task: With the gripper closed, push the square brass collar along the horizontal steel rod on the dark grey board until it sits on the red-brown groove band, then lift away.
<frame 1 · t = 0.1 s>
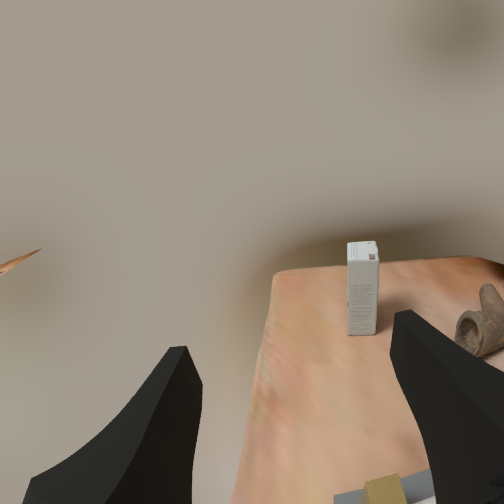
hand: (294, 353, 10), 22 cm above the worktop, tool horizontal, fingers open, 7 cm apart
skincare box: (362, 325, 44), on the worktop
pipe: (479, 330, 36), on the worktop
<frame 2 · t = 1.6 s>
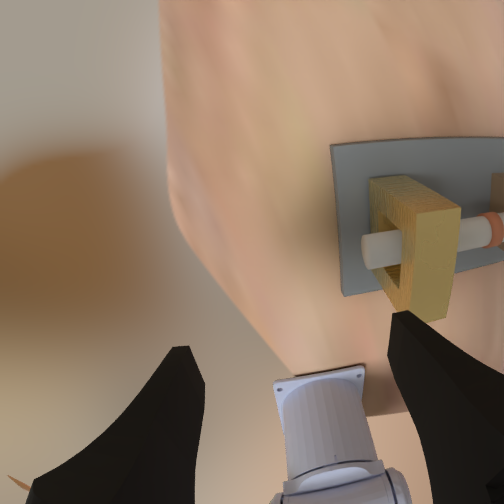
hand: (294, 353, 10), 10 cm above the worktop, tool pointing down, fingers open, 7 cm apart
collar: (408, 244, 15), point 4 cm above the worktop, slide at 0.0 cm
rail: (437, 209, 19), on the worktop
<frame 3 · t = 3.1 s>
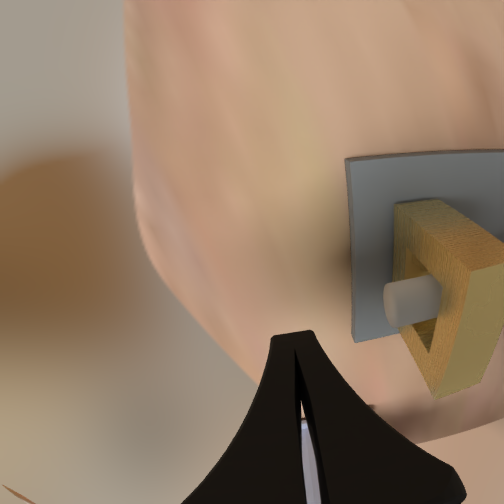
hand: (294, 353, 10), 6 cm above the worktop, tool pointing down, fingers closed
collar: (443, 293, 11), point 4 cm above the worktop, slide at 0.0 cm
rail: (469, 237, 15), on the worktop
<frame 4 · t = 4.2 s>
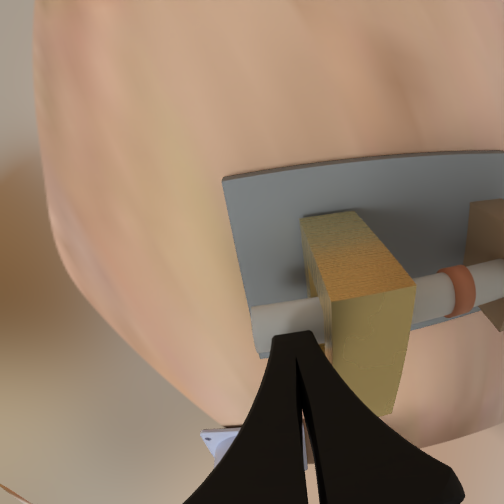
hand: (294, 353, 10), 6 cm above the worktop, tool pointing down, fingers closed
collar: (347, 315, 12), point 4 cm above the worktop, slide at 1.1 cm, touching gripper
rail: (389, 252, 15), on the worktop
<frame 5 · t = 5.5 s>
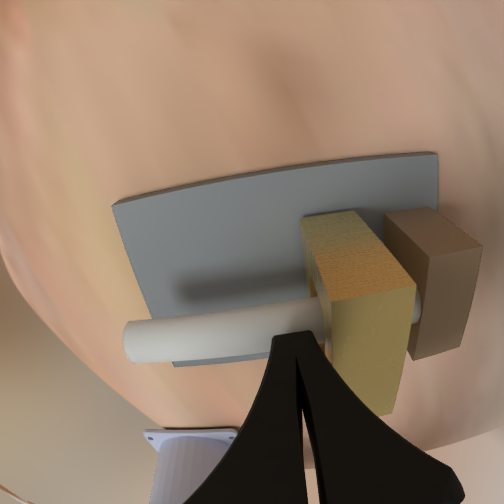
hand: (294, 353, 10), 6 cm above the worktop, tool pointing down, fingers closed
collar: (347, 314, 12), point 4 cm above the worktop, slide at 6.2 cm, touching gripper
rail: (291, 269, 15), on the worktop
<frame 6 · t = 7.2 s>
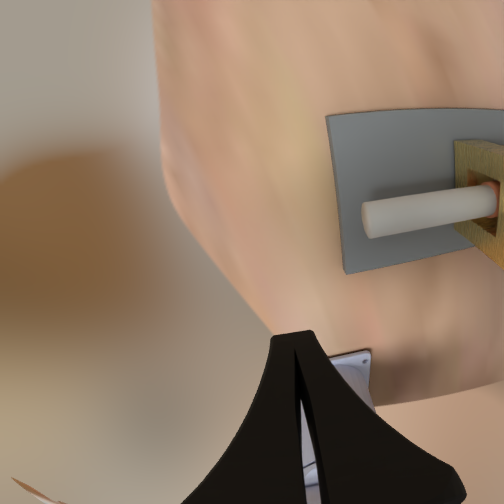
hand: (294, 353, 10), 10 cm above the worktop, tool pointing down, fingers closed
collar: (495, 198, 14), point 4 cm above the worktop, slide at 6.2 cm
rail: (439, 182, 18), on the worktop
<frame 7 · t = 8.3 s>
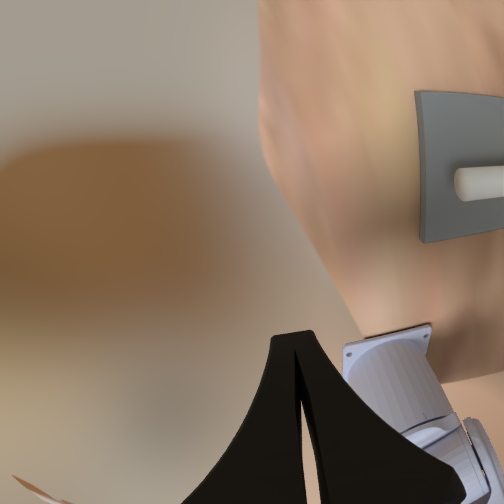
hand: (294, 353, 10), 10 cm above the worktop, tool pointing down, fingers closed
rail: (498, 163, 17), on the worktop
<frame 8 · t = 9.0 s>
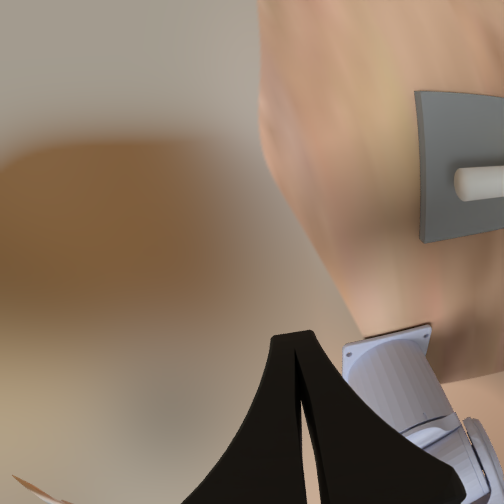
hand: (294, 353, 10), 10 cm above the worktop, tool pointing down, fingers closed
rail: (498, 163, 17), on the worktop
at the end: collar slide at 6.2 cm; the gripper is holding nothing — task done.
